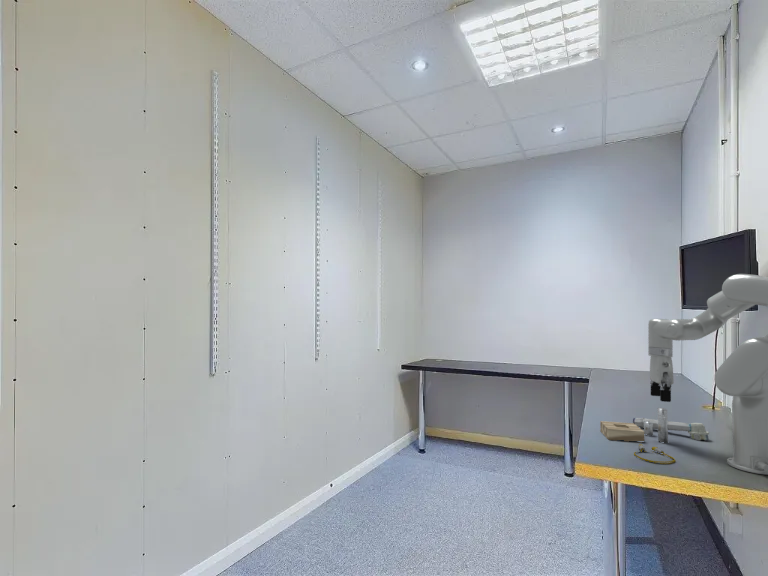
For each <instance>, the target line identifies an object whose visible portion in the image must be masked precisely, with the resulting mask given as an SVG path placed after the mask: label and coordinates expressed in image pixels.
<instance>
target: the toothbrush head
mask: <svg viewBox="0 0 768 576" xmlns="http://www.w3.org/2000/svg"><path fill="white" fill-rule="evenodd" d="M644 421H651V422H653V430H658V419H651V418H645V417H633V419H632V423H634V424H635V425H637V426H638V427H640V429H643V428H644ZM668 431H677V432H687V433H688V435H689V436H690V437H691V438H692V440H695V441H701V440H703V441H709V440H710V439H709V435H710V432H709V431H707V430H706V426H705V425H704V423H701V422H691V423H689V422H681V421H679V422H678V421H671V420H670V421H669V420H668ZM691 438H690V439H691Z"/></svg>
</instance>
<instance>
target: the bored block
mask: <svg viewBox="0 0 768 576" xmlns="http://www.w3.org/2000/svg"><path fill="white" fill-rule="evenodd" d="M599 429H600V432H601V434H603V436H605V438H606V439H607V440H609V441H617V440H624V441H623V442H629V441H645V435H644V429H643V428H639V427H638V426H637V425H635V424H634V423H633V422H618V421H606V420H604V421H603V420H600V426H599Z"/></svg>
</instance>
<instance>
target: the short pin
mask: <svg viewBox="0 0 768 576" xmlns="http://www.w3.org/2000/svg"><path fill="white" fill-rule="evenodd" d="M653 430H654V429H653V422H651V421H644V429H643V431H644V434H647V435H653V436H654V431H653Z"/></svg>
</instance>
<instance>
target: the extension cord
mask: <svg viewBox="0 0 768 576" xmlns="http://www.w3.org/2000/svg"><path fill="white" fill-rule="evenodd" d="M638 449H639V451H641V452H642V450H644V451H645V449H646V447H645V446H644V445H643V444H642V443H640V444H638ZM651 449H652V450H654V451H657V452H659V453H663V454H662V455H665V456H668V457H670V458H669V459H671V458H672V460H668V461H664V460H663V461H660V460H659V461H657V460H652V459H647V458H644V457H641V456H639V455H637V454H635V453H636V452H637V451H635V452H633V456H634V457H635V456H637V457H638V458H640V459H642V460H641V461H643V460H645V462H647V461H649V462H648V463H651V462H654V463H653V464H656V463H660V464H659V465H670V464H674V463H676V459H675V458H674V457H673V456H671V455H669V454H667V453H665V451H664V450H663V449H661V448H659V447H658V446H652V447H651ZM654 451H653V452H654ZM659 453H658V454H659ZM637 457H636V458H637ZM640 459H639V460H640ZM673 459H674V460H673Z"/></svg>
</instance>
